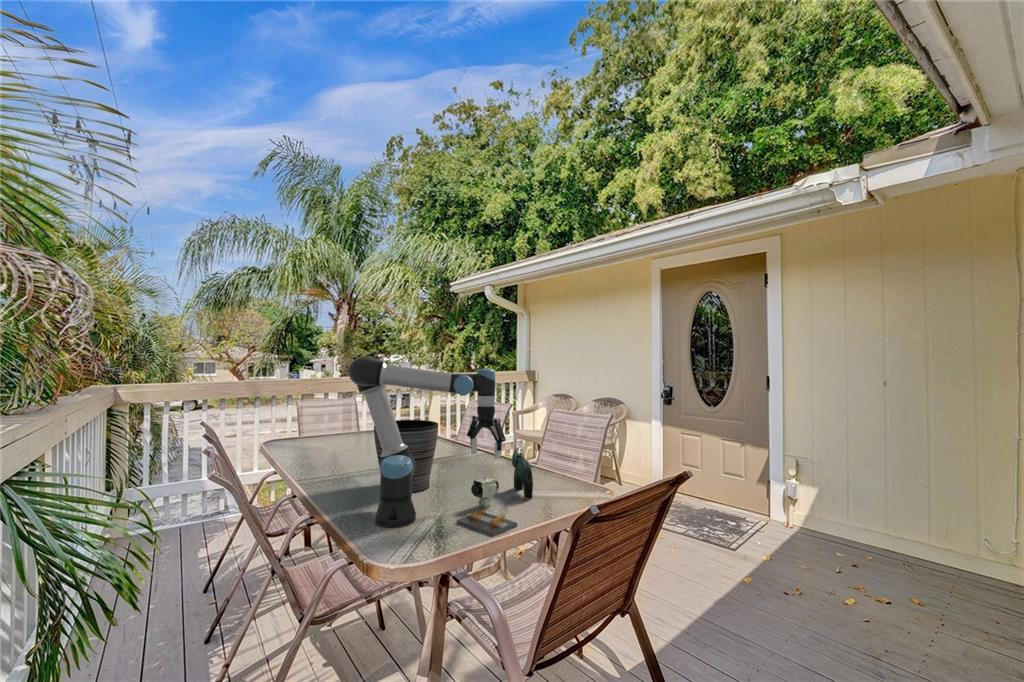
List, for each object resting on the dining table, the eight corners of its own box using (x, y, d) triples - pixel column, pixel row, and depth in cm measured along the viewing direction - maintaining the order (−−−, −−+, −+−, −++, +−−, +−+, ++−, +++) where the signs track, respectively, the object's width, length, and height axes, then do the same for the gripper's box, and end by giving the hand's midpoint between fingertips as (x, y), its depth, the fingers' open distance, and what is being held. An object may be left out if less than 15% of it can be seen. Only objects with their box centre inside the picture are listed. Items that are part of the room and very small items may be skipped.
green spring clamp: (510, 487, 221) (510, 445, 222) (523, 486, 223) (523, 444, 224) (523, 500, 202) (523, 454, 203) (537, 498, 204) (537, 453, 205)
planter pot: (370, 499, 202) (371, 430, 203) (374, 480, 231) (375, 420, 232) (440, 494, 209) (440, 428, 210) (435, 477, 238) (436, 419, 239)
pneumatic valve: (470, 507, 192) (470, 478, 192) (491, 501, 200) (491, 473, 200) (479, 510, 188) (479, 481, 188) (500, 504, 196) (500, 476, 196)
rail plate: (493, 536, 162) (493, 526, 162) (456, 523, 174) (456, 513, 174) (517, 526, 171) (517, 516, 172) (480, 514, 184) (480, 505, 184)
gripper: (514, 407, 190) (514, 458, 190) (471, 402, 206) (470, 450, 206) (502, 408, 185) (502, 462, 184) (459, 404, 201) (458, 453, 200)
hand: (485, 456), depth 195 cm, fingers open, 13 cm apart
